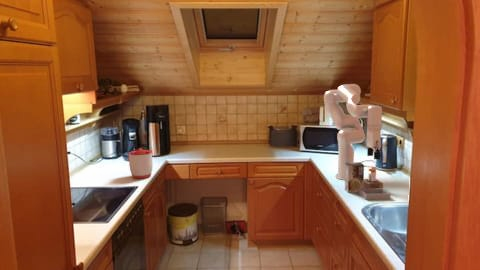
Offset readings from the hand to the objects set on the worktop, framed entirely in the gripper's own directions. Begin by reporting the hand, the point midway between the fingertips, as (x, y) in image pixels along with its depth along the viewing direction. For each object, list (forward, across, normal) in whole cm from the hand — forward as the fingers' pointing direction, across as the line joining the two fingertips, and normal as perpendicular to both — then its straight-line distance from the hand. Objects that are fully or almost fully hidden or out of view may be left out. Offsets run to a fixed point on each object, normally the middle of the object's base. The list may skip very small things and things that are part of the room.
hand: (373, 157), depth 216 cm
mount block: (+19, -1, 0) cm, 19 cm away
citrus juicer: (+18, -43, -142) cm, 150 cm away
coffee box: (+19, +1, -11) cm, 22 cm away
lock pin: (+19, -1, 0) cm, 19 cm away
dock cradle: (+19, +12, -4) cm, 23 cm away
